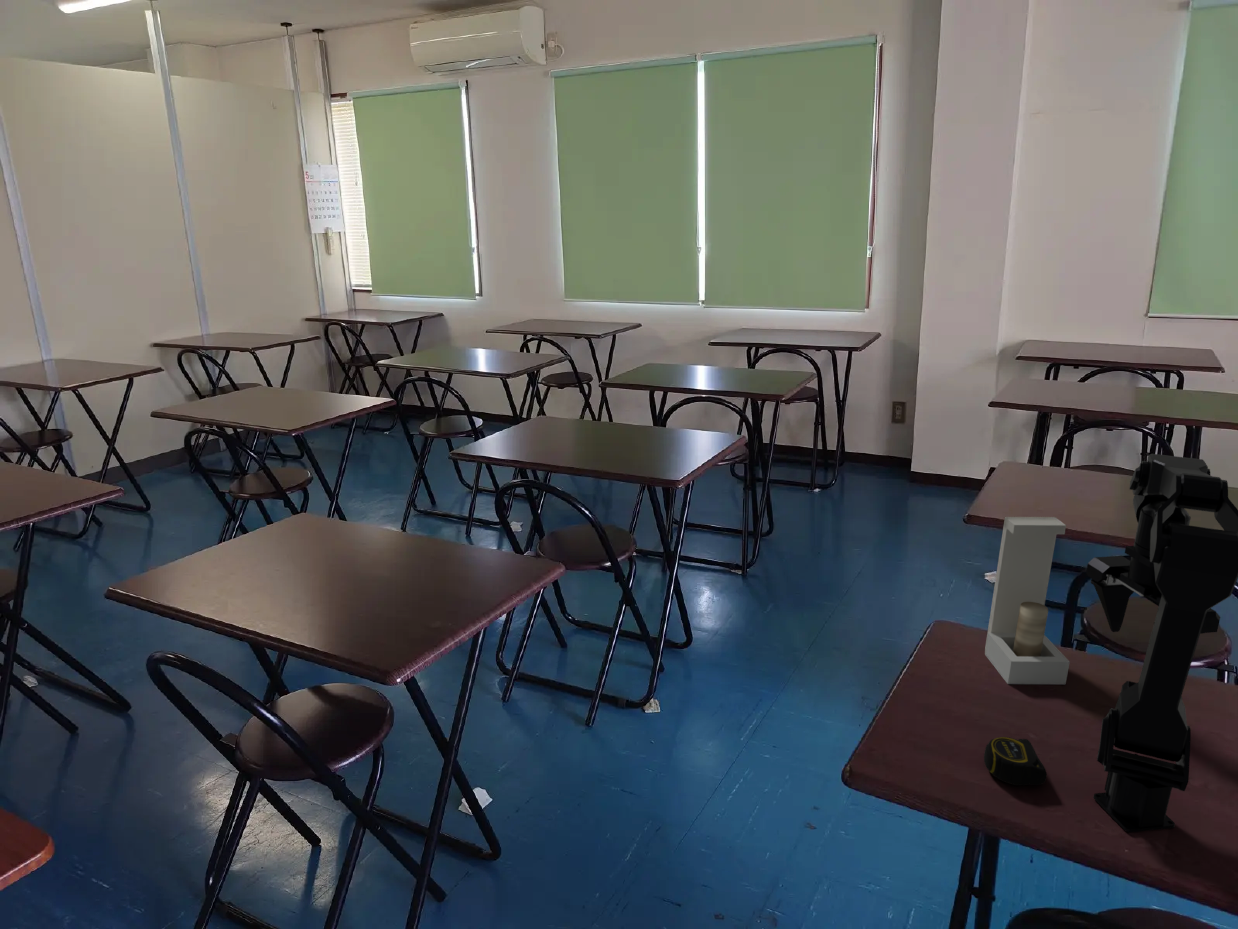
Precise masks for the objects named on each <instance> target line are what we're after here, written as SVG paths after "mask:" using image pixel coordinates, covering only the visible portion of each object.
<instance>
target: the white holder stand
mask: <svg viewBox="0 0 1238 929" xmlns="http://www.w3.org/2000/svg"><path fill="white" fill-rule="evenodd" d="M1066 527H1067V524H1065V523H1064V522H1062V521H1061V519H1058V518H1057V517H1056V516H1005V517H1004V520H1003V527H1002V533H1001V534H1002V535H1001V540H1000V547H999V554H998V560H997V568H996V574H995V581H994V588H993V592H992V593H993V594H992V600H991V608H990V614H989V615H990V616H989V620H988V626H987V627H988V628H987V633H986V634H987V635H986V639H985V640H986V641H985V648H984V655H985V657H986V658H987V659H988V660H989V662H990V663H991V665H992V666H994V668H995V669H996V670H997V672H998V674H999V675H1000V676H1001V678H1002V679H1003V680H1004V681H1005V683H1006V684H1007V685H1066V683H1067V679H1068V672H1069V667H1070V660H1069V659H1068V658H1067V657H1066V656H1065V655H1064V653H1062V652H1061V650H1059V649H1058V648H1057V647H1056V645H1055V644H1054V643H1053V642H1052V641H1051V640H1050V639H1049V638H1048V637H1047V636H1046V634H1044V638H1043V644H1042V650H1041V656H1040V657H1022V656H1016V655H1015V654H1014V652H1013V647H1014V641H1015V635H1016V629H1017V623H1018V616H1019V610H1020V604H1021V603H1023V602H1036V603H1039V604H1042V605H1044V606H1046V605H1045V604H1046V597H1047V592H1048V588H1049V587H1048V586H1049V581H1050V575H1051V570H1052V569H1051V568H1052V563H1053V557H1054V552H1055V551H1054V550H1055V546H1056V541H1057V535H1065V534H1066Z"/></svg>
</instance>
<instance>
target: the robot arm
mask: <svg viewBox="0 0 1238 929" xmlns="http://www.w3.org/2000/svg"><path fill="white" fill-rule="evenodd" d="M1129 490H1132V494H1133V495H1134V496H1133V498H1132V506H1133V509H1134V514H1135V517H1136V518H1135V519H1136V522H1137V528H1136V533H1135V538H1134V543H1133V545H1127V546H1125V549H1124V554H1126V555H1127V556H1129V557H1130V559H1128V558H1126V557H1125V556H1123V555H1117V556H1116V555H1112V556H1095V557H1093V558H1092V559H1091V560H1090V561H1088V563H1087V566H1086V572H1085V575H1086V576H1087V577H1088V578H1090V579H1091V580H1090V584H1091V585H1093V587H1094V589H1095V591H1096V594H1097V597H1098V599H1099V601H1100V603H1101V606H1102V609H1103V612H1104V614H1105V617H1106V620H1107V624H1108V625H1109V628H1110V631H1111V632H1113V633H1118V632H1120V630H1121V628H1122V626H1123V625H1122V624H1124V619H1125V615H1126V611H1127V607H1128V604H1129V599H1130V598H1131V596H1132V595H1133V594H1134V593H1135V594H1138V595H1139V596H1140V597H1144V598H1145V599H1147V600H1148V601H1149V602H1151V603H1153V604H1154V605H1156V606H1157V607H1158V608H1157V611H1156V615H1155V619H1154V621H1153V627H1152V630H1151V634H1150V638H1149V641H1148V645H1147V648H1146V653H1145V657H1144V661H1143V664H1142V667H1141V671H1140V674H1139V679H1138V682H1135V681H1131V680H1127V681H1125V682H1124V683H1123V684H1122V685H1121V689H1120V692H1119V696H1118V698H1117V702H1116V704H1115V708H1111V707H1110V708H1109V711H1108V713H1107V714H1106V716H1104V717H1103V718H1102V719H1101V720H1102V721H1101V729H1100V738H1099V746H1098V752H1097V757H1096V761H1097V762H1098V763H1100V764H1101V765H1102V766H1103V770H1104V772H1106V773H1107V776H1106V781H1105V786H1104V792H1096V793H1094V794H1093V800H1095V802H1097V804H1098V805H1100V807H1101V808H1103V810H1104V811H1105V812H1106V813H1107V814H1108V815H1109V816H1110V817H1111V818H1112V819H1113V820H1114V821H1115V822H1116V824H1118V825H1119V826H1120V827H1121V828H1122V829H1123V830H1124V831H1125V832H1128V833H1138V832H1148V831H1155V830H1156V831H1157V830H1167V829H1174V828H1175V825H1176V823H1175V821H1173V820H1172V819H1171V818H1170V817H1169V816H1168V815H1167V811H1168V807H1169V803H1170V798H1171V794H1172V790H1173V789H1177V790H1178V791H1181V792H1185V791H1186V789H1187V786H1188V784H1189V780H1190V777H1189V776H1190V762H1191V761H1190V759H1191V738H1192V732H1191V731H1192V730H1191V726H1190V725H1188V721H1187V713H1186V712H1187V711H1186V706H1185V704H1184V701H1183V696H1182V695H1183V692H1184V688H1185V685H1186V683H1187V682H1186V681H1187V679H1188V675H1189V672H1190V669H1191V666H1192V663H1193V660H1194V656H1195V652H1196V649H1197V646H1198V642H1199V640H1200V636H1201V634H1208V633H1217V632H1218V629H1219V626H1220V621H1221V615H1219V613H1218V612H1217V611H1216V610H1214V609H1213V608H1214V607H1215V606H1216V605H1219V604H1220V603H1222V602H1223V601H1225V600H1226V599H1228V598H1230V597H1231V596H1232V594H1233V591H1234V589H1235V587H1236V583H1237V581H1238V508H1237V507H1236V505H1235V504H1234V503H1233V502H1232V501H1231V500H1230V499H1229V485H1228V481H1227V479H1222V478H1221V477H1220V476H1213V475H1211V469H1210V468H1209V466H1208V465H1207V463H1206V461H1205V460H1204V459H1203V458H1202V459H1201V458H1192V457H1185V456H1184V457H1183V456H1176V455H1175V456H1174V455H1167V454H1166V455H1165V454H1160V453H1159V454H1157V453H1151V454H1148V456H1147V461H1145V460H1142V461H1141V462H1140V464H1139V466H1137V467H1136V468H1135V470H1134V472H1133V475H1132V477H1131V479H1130V481H1129ZM1187 510H1193V511H1201V512H1206V513H1207V512H1209V513H1214V515H1213V516H1214V518H1215V521H1216V522H1217V523H1218V524H1219V525H1220V527H1221V528H1222V529H1218V528H1210V527H1202V526H1198V525H1197V526H1196V525H1190V523H1191V519H1192V518H1191V516H1190V514H1189V512H1188V511H1187ZM1114 747H1115V748H1114ZM1152 757H1153V758H1152ZM1160 759H1161V760H1160ZM1169 761H1170V762H1169ZM1173 762H1175V763H1173Z"/></svg>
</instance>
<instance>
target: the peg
mask: <svg viewBox="0 0 1238 929" xmlns="http://www.w3.org/2000/svg"><path fill="white" fill-rule="evenodd" d="M1048 614H1049V608H1048V607H1047V606H1046V605H1042V604H1039V603H1036V602H1023V603H1021V604H1020V610H1019V616H1018V623H1017V629H1016V635H1015V641H1014V647H1013V652H1014V654H1015V655H1016V656H1022V657H1040V656H1041V650H1042V644H1043V638H1044V635H1045V633H1046V626H1047V620H1048Z"/></svg>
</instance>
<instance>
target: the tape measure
mask: <svg viewBox="0 0 1238 929" xmlns="http://www.w3.org/2000/svg"><path fill="white" fill-rule="evenodd" d="M983 762H984V764H985V767H986V769H987V770H988V771H989V773H991V774H992V776H994V777H995V778H997V779H998V780H1000V781H1002V782H1003V783H1004V782H1005V783H1006V784H1011V785H1013V786H1027V785H1028V786H1029V785H1032V786H1033V785H1034V786H1037V785H1043V784H1045V783H1046V780H1047V777H1048V773H1047V770H1046V767H1045V766H1044V764H1043V762H1042V761H1041V760H1040V758H1039V757H1038V755H1037V752H1036V750H1035V749H1034V747H1033V744H1032V743H1031V741H1030V740H1029V739H1027V738H1019V739H1016V738H1012V737H1008V736H1000V737H999V736H998V737H995V738H993V739H991V740H990V741H989V742H988V743H987V744H986V746H985V750H984V753H983Z"/></svg>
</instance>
